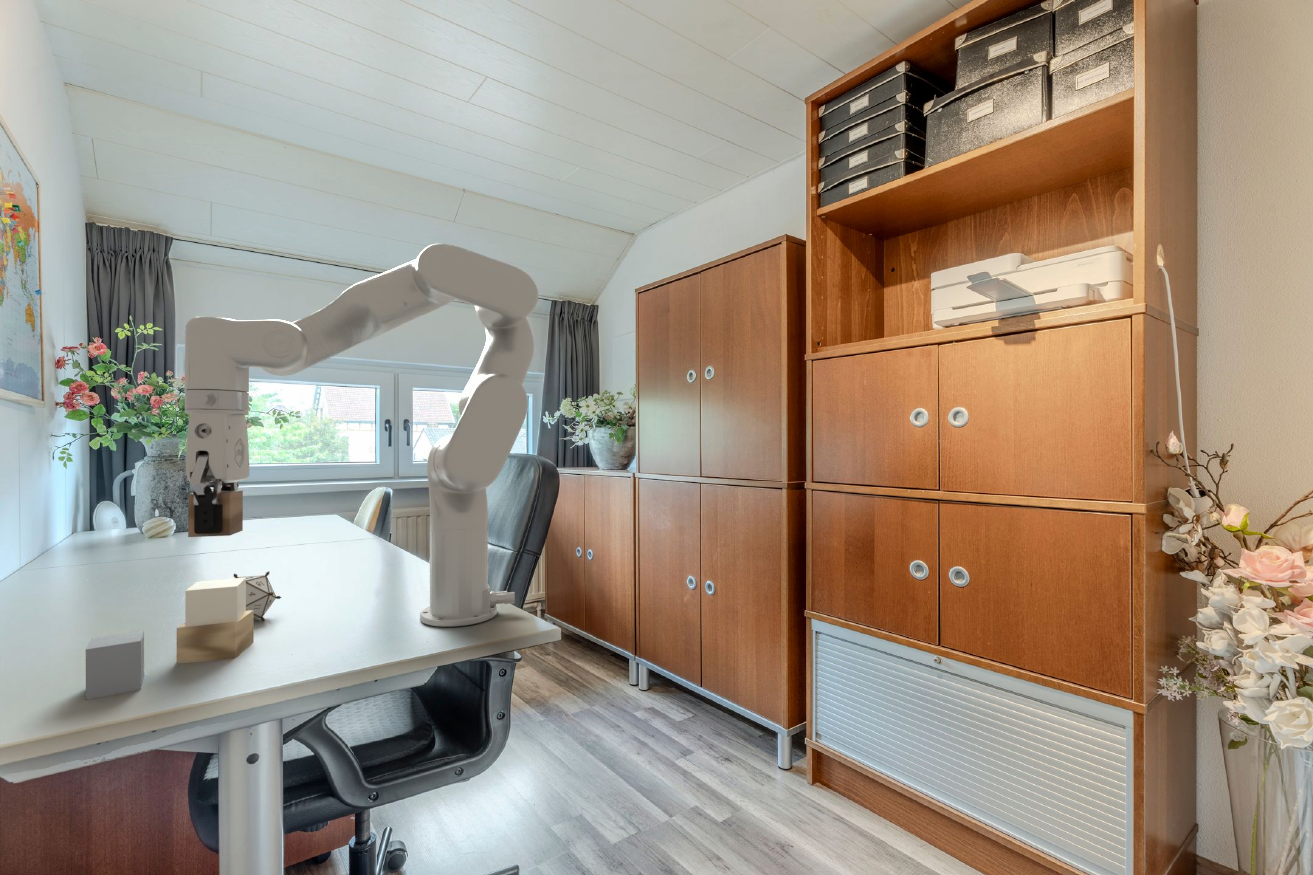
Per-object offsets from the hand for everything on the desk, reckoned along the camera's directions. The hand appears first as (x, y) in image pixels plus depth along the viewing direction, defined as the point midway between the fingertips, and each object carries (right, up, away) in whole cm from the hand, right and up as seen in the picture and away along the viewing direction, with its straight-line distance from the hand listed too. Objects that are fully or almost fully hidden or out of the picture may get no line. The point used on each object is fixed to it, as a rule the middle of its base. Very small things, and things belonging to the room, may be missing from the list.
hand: (216, 528), depth 88 cm
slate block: (-3, -18, -12) cm, 22 cm away
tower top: (0, -13, 0) cm, 13 cm away
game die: (-5, -18, +15) cm, 24 cm away
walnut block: (0, -1, 0) cm, 1 cm away
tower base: (0, -18, 0) cm, 18 cm away
